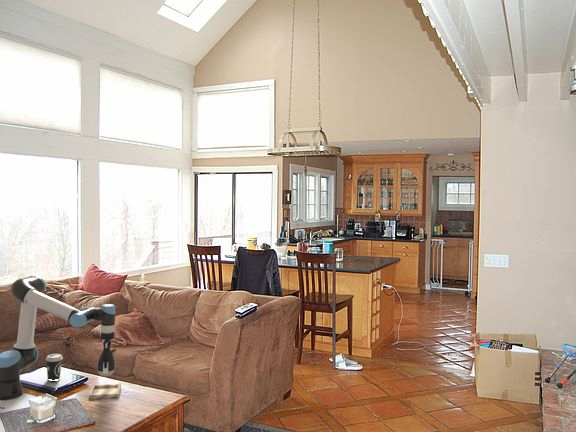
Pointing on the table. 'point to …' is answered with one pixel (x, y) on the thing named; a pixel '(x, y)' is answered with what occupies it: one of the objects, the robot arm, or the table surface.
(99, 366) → the pump dispenser
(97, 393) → the beige flat square tray
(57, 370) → the coffee cup
